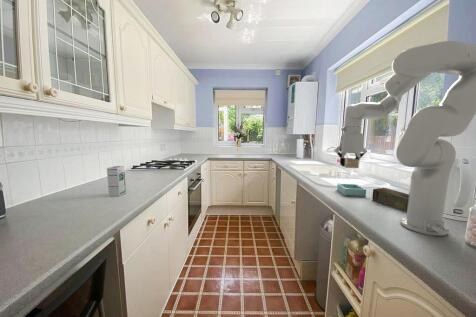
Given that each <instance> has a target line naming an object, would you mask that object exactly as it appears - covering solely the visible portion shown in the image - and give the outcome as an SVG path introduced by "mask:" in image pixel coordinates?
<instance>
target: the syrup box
mask: <svg viewBox="0 0 476 317" xmlns="http://www.w3.org/2000/svg"><path fill="white" fill-rule="evenodd" d="M106 176H107V177H106V178H107V188H108V189H107V190H108V196H109V197H121V196H122V195H124V194H126V193H127V189H126V178H125V176H126V174H125V166H123V165H113V166H111V167H106Z"/></svg>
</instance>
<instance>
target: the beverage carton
mask: <svg viewBox="0 0 476 317" xmlns="http://www.w3.org/2000/svg"><path fill="white" fill-rule="evenodd" d="M371 199H372V201H375V202H377V203H381V204H384V205H386V206H389V207H393V208H396V209H397V210H398V209H399V210H401V211H405V212H407V207H408V199H409V193H405V192H401V191H398V190H394V189H390V188H387V187H378V188H373V190H372V197H371Z"/></svg>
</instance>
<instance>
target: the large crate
mask: <svg viewBox="0 0 476 317" xmlns="http://www.w3.org/2000/svg"><path fill="white" fill-rule="evenodd" d="M336 186H337V187H336V190H337V192H339V193H340V194H341V195H343V197H360V198H362V197H363V198H366V197H367V189H366V188H364V187H362V186H361V185H359V184H358V183H357V184H356V183H337V184H336Z"/></svg>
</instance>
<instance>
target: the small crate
mask: <svg viewBox="0 0 476 317" xmlns="http://www.w3.org/2000/svg"><path fill="white" fill-rule="evenodd" d="M344 158H345V163H344V166H342V165H341V164H340V163H339V164H340V166H341V167H344V168H346V169H347V168H349V169H350V168H351V169H359V167H360V166H359V165H360V159H359V160H357V159H355V157H344Z"/></svg>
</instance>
